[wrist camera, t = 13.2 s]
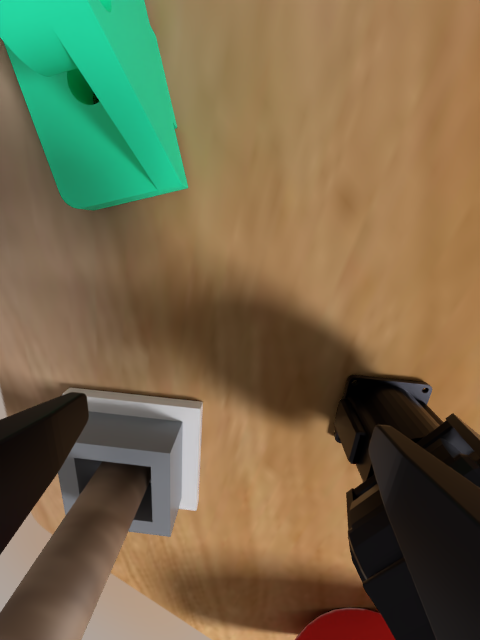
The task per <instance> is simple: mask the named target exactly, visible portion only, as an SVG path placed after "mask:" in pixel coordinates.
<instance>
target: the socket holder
mask: <svg viewBox="0 0 480 640" xmlns="http://www.w3.org/2000/svg"><path fill="white" fill-rule="evenodd" d="M70 392H79V393H84V394H86V396H87V402H88V411H89V419H88V422H87V424H86V426H85V427H84V429H83V431H82V433H81V434H80V436H79V438H78V440H77V441H76V443H75V445H74V446H73V448H72V450H71V452H70V453H69V455H68V457H67V459H66V460H65V462H64V464H63V465H62V467H61V469H60V470H59V472H58V475H59V481H60V487H61V492H62V498H63V503H64V509H65V514H66V515H67V513H68V512H69V510H70V509H71V507H72V506H73V504H74V503H75V501H76V500H77V498H78V497H79V495H80V494H81V492H82V491H83V489H84V488H85V486H86V485H87V483H88V482H89V481H90V479H91V478H92V476H93V475H94V473H95V472H96V470H97V469H98V467H99V466H100V464H101V463H102V461H106V462H114V463H123V464H131V465H140V466H148V467H151V480H150V482H149V485H148V487H147V489H146V491H145V494H144V496H143V498H142V501H141V503H140V505H139V508H138V510H137V512H136V515H135V517H134V519H133V521H132V524H131V526H130V528H129V532H137V533H145V534H153V535H160V536H168V537H171V533H172V530H173V526H174V523H175V519H176V516H177V512H178V509H186V510H194V511H196V510H197V506H198V501H199V478H200V455H201V432H202V409H203V402H200V401H191V400H181V399H172V398H163V397H154V396H144V395H135V394H126V393H117V392H107V391H98V390H89V389H80V388H69V389H67V390H66V391H65V392H64V393H63V394H62V395H65V394H67V393H70Z"/></svg>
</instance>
